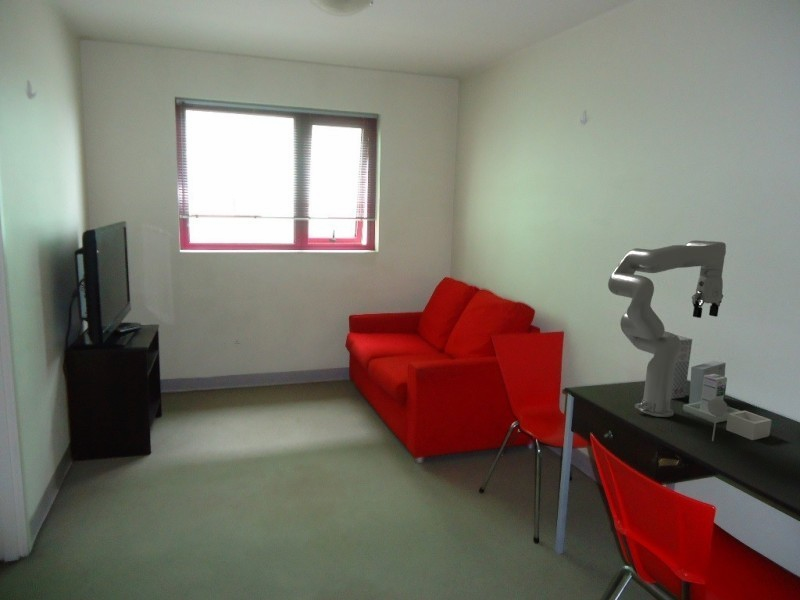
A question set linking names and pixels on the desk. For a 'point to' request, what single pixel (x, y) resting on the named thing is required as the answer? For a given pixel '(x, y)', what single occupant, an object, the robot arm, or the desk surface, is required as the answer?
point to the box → (681, 368)
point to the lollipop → (717, 410)
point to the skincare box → (698, 377)
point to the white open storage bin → (748, 425)
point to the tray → (695, 410)
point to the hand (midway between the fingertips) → (705, 316)
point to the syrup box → (712, 390)
